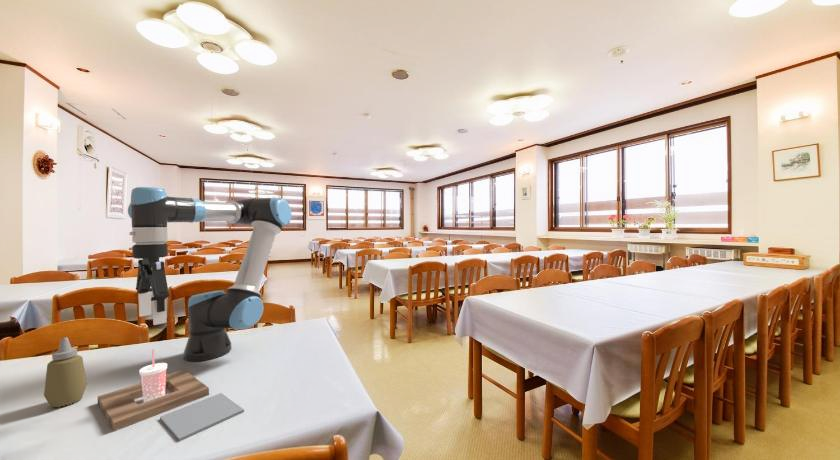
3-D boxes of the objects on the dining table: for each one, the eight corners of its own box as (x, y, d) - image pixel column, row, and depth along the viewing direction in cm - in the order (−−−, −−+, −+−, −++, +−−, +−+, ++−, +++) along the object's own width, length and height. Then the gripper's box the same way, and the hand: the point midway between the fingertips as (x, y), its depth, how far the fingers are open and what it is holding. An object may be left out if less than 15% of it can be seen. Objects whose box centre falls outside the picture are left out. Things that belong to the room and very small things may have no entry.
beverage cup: (173, 396, 92) (171, 347, 91) (147, 407, 86) (145, 355, 86) (160, 391, 94) (159, 344, 94) (135, 402, 89) (133, 352, 88)
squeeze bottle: (65, 395, 93) (63, 333, 92) (95, 393, 93) (93, 332, 93) (34, 411, 85) (31, 344, 84) (67, 409, 85) (65, 342, 85)
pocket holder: (97, 403, 88) (97, 396, 88) (184, 375, 104) (183, 369, 104) (114, 431, 76) (113, 422, 76) (208, 394, 92) (208, 387, 92)
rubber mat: (160, 419, 81) (160, 416, 81) (221, 394, 92) (221, 392, 92) (179, 441, 72) (179, 438, 72) (243, 411, 84) (243, 409, 84)
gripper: (121, 243, 94) (123, 315, 94) (145, 245, 79) (148, 331, 79) (153, 241, 100) (155, 309, 100) (182, 243, 85) (184, 323, 85)
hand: (152, 319), depth 90 cm, fingers open, 13 cm apart
